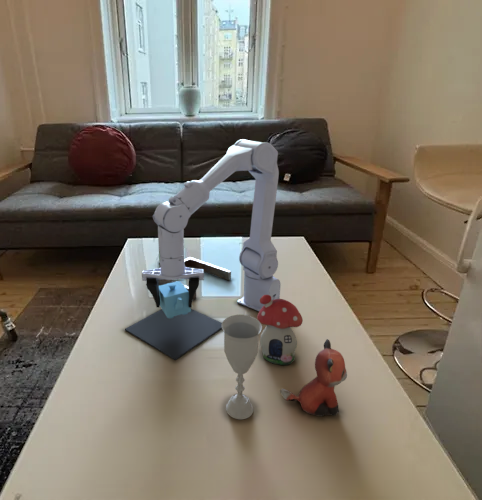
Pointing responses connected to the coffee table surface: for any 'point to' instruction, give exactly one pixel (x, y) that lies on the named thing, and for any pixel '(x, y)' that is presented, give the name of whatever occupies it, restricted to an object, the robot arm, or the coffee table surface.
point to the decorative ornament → (278, 330)
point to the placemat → (175, 331)
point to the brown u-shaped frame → (206, 268)
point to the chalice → (240, 358)
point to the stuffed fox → (322, 384)
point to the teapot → (174, 299)
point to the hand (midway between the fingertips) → (174, 305)
